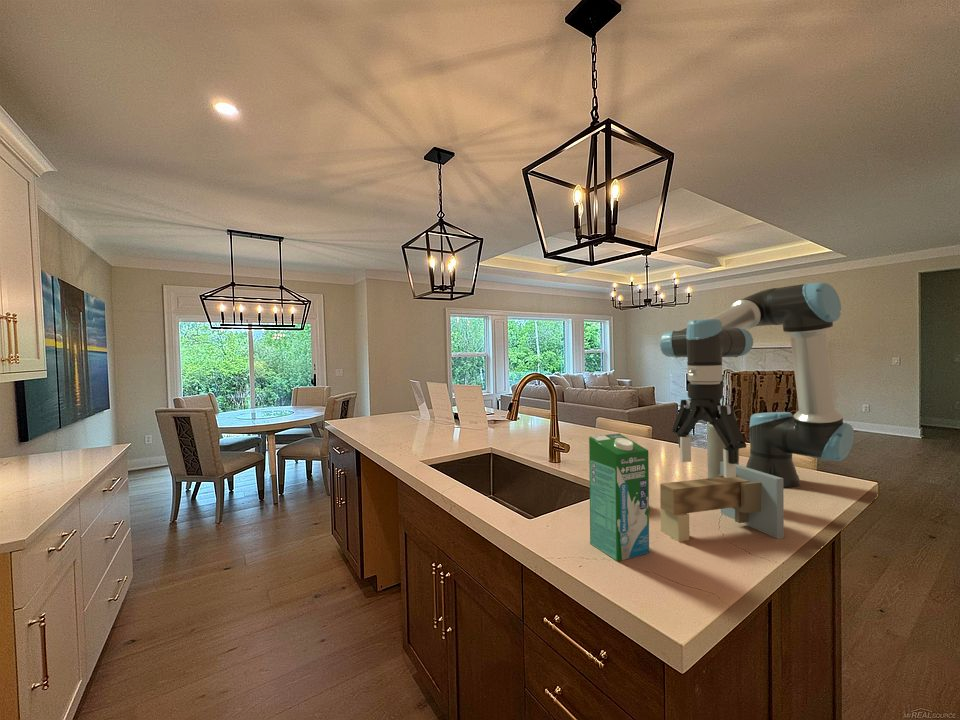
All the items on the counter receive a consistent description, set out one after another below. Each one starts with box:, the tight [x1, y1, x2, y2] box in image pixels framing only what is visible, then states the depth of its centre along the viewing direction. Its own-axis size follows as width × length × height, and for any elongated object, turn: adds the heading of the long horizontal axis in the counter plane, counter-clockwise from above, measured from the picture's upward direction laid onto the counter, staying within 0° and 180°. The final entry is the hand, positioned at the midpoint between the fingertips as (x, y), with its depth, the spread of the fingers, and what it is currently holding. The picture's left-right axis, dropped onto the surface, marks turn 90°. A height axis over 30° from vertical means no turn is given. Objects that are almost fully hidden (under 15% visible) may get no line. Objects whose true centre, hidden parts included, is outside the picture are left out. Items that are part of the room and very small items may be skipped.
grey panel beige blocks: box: [660, 462, 785, 543], centre depth 99 cm, size 25×16×14 cm, turn 104°
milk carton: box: [588, 433, 650, 562], centre depth 91 cm, size 9×9×25 cm
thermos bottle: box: [706, 417, 740, 479], centre depth 118 cm, size 8×8×28 cm
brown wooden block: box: [659, 477, 749, 515], centre depth 99 cm, size 22×4×6 cm, turn 104°
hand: (706, 468), depth 99 cm, fingers open, 13 cm apart
